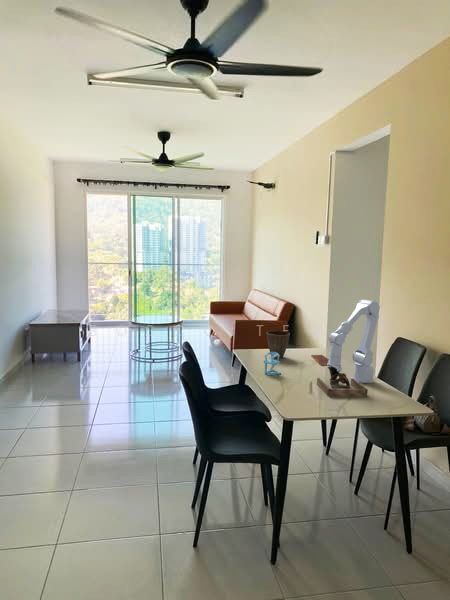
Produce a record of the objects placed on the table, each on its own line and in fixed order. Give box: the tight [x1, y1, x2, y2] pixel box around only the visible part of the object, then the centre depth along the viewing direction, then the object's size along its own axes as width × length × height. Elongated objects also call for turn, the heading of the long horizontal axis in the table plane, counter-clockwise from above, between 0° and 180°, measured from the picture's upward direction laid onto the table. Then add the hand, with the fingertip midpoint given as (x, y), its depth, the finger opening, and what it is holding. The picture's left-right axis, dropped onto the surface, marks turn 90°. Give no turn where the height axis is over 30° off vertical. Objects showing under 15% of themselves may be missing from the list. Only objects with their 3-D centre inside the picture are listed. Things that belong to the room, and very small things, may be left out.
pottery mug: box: [329, 372, 351, 389], centre depth 207 cm, size 12×10×8 cm
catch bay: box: [316, 377, 369, 398], centre depth 202 cm, size 19×17×4 cm
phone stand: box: [263, 351, 282, 376], centre depth 225 cm, size 8×8×12 cm
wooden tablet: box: [310, 354, 331, 367], centre depth 258 cm, size 27×10×2 cm, turn 4°
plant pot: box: [266, 330, 291, 359], centre depth 260 cm, size 15×15×16 cm
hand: (333, 380), depth 213 cm, fingers closed
